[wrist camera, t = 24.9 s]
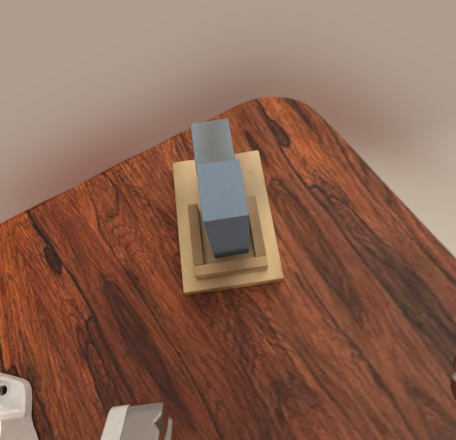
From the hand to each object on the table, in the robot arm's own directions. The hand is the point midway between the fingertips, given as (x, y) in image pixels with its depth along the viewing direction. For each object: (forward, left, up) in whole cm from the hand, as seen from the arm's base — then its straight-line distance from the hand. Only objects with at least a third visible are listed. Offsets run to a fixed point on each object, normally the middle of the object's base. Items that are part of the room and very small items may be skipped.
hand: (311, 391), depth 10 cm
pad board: (-10, +12, -25) cm, 29 cm away
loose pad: (-9, +11, -23) cm, 27 cm away
